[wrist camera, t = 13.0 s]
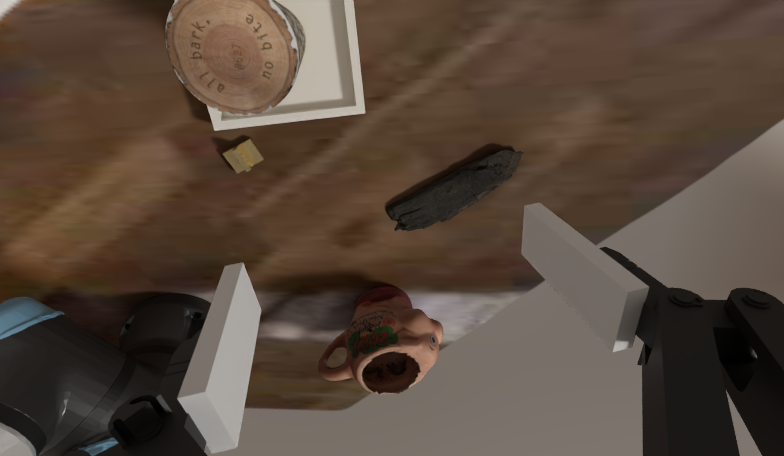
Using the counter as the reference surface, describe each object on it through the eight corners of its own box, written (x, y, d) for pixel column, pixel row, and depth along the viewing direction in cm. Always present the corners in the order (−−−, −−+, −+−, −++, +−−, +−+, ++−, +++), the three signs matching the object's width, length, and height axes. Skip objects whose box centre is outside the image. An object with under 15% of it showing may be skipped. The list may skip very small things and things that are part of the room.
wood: (402, 242, 60) (406, 252, 57) (381, 207, 56) (385, 216, 53) (526, 176, 58) (536, 183, 56) (513, 135, 54) (524, 141, 52)
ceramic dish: (219, 125, 46) (214, 130, 44) (165, -55, 37) (155, -60, 35) (362, 109, 48) (365, 113, 46) (344, -65, 39) (345, -70, 37)
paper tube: (247, 69, 43) (179, 114, 21) (239, 0, 39) (150, -30, 18) (307, 72, 44) (301, 117, 22) (304, 6, 41) (295, -16, 19)
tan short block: (238, 170, 49) (235, 178, 47) (224, 151, 48) (219, 157, 45) (265, 156, 49) (262, 163, 47) (251, 136, 48) (248, 142, 45)
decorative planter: (333, 353, 68) (338, 423, 56) (304, 306, 62) (302, 374, 50) (435, 313, 68) (461, 375, 56) (416, 263, 61) (441, 320, 49)
